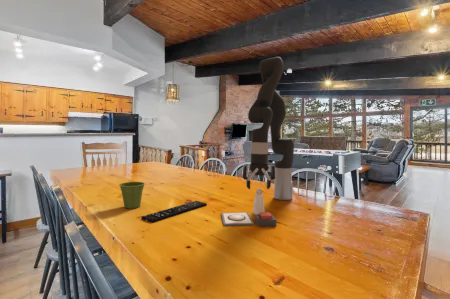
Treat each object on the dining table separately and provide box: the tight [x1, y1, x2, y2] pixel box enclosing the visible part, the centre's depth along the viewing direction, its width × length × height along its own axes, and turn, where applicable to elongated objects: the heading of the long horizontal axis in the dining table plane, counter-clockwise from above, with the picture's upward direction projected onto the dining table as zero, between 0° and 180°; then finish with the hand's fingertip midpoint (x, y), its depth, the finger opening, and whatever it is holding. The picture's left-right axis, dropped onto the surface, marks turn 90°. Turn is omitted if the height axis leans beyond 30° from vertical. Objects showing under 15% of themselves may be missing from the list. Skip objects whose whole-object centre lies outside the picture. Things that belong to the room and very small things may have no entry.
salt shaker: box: [252, 188, 266, 215], centre depth 113 cm, size 5×5×11 cm
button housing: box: [254, 213, 277, 228], centre depth 102 cm, size 7×7×2 cm
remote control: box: [141, 200, 208, 224], centre depth 115 cm, size 8×32×2 cm, turn 141°
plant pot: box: [118, 181, 146, 209], centre depth 122 cm, size 12×12×11 cm
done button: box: [259, 211, 273, 219], centre depth 101 cm, size 4×4×2 cm
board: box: [220, 211, 255, 227], centre depth 106 cm, size 12×14×1 cm
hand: (258, 188), depth 113 cm, fingers open, 8 cm apart
